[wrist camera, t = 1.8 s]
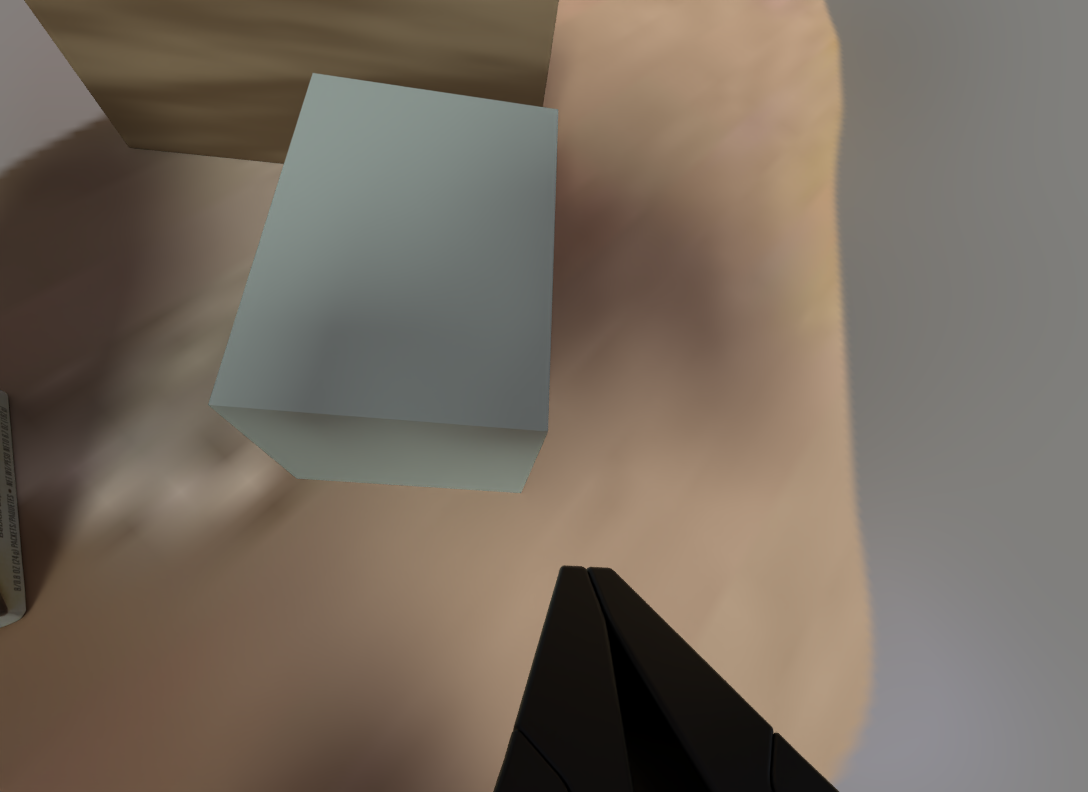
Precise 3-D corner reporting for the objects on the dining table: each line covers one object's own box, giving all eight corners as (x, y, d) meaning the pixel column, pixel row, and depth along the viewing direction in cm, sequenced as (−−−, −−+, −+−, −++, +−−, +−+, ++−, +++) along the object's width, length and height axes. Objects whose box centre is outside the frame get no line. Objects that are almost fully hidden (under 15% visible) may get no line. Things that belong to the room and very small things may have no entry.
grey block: (520, 493, 22) (547, 431, 15) (298, 479, 21) (207, 404, 14) (533, 246, 27) (558, 109, 20) (355, 225, 26) (312, 73, 19)
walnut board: (530, 189, 28) (561, -15, 19) (129, 147, 26) (-55, -110, 17) (530, 155, 29) (559, -54, 20) (144, 111, 27) (-22, -150, 18)
